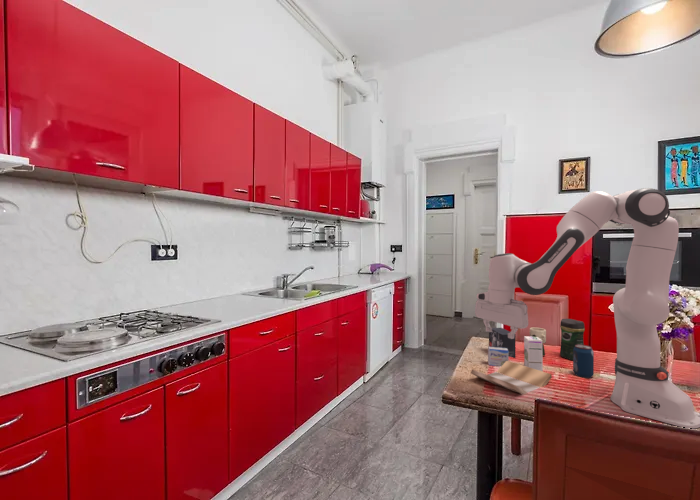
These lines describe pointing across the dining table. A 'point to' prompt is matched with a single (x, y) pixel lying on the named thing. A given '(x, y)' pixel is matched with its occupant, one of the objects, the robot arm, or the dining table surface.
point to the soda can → (583, 361)
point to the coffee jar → (570, 336)
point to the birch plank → (498, 382)
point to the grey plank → (515, 382)
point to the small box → (502, 340)
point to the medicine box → (497, 356)
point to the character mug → (539, 335)
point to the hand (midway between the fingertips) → (499, 334)
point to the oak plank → (525, 373)
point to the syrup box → (533, 353)
